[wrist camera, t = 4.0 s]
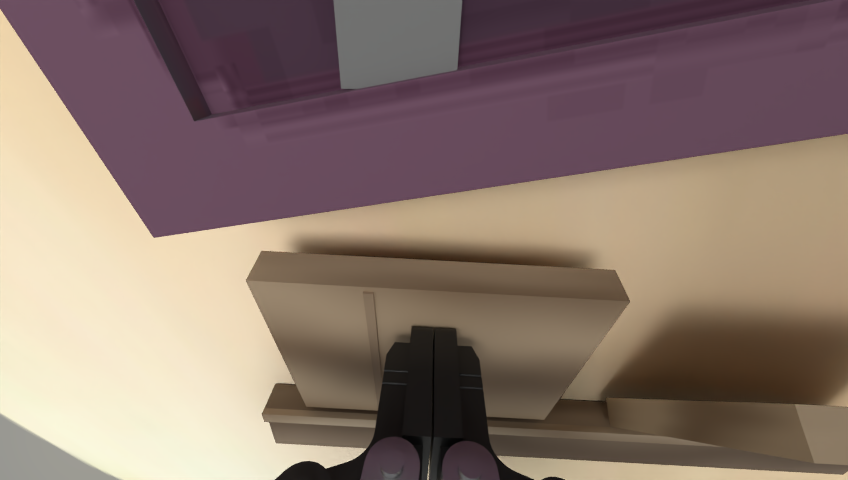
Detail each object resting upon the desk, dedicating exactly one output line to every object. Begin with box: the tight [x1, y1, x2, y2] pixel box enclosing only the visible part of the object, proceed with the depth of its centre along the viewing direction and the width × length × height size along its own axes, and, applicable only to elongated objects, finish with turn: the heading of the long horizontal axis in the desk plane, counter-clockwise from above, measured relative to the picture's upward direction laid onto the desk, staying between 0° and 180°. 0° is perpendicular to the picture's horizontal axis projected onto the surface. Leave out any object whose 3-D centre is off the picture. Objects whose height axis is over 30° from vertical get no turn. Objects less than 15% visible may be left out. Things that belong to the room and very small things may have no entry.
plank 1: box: [246, 251, 630, 420], centre depth 14 cm, size 9×11×1 cm
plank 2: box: [606, 398, 848, 465], centre depth 12 cm, size 9×11×1 cm
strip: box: [262, 384, 848, 475], centre depth 18 cm, size 3×29×2 cm, turn 87°
